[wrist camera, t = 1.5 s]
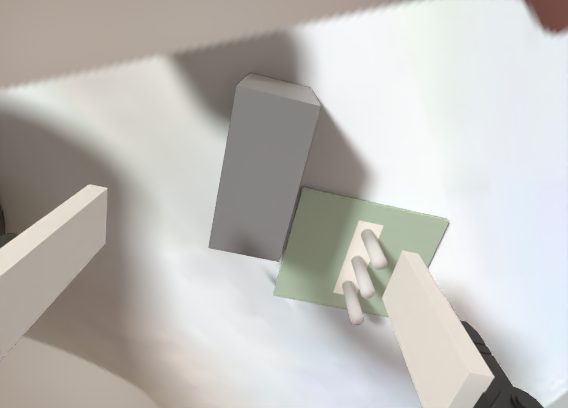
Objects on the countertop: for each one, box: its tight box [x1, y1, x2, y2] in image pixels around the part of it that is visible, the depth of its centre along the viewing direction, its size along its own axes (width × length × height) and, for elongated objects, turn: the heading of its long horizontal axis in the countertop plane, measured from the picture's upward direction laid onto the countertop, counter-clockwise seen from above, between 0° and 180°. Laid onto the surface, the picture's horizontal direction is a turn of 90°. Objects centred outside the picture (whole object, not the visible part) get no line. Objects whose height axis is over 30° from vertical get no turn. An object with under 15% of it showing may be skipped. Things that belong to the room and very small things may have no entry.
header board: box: [274, 187, 449, 325], centre depth 33 cm, size 14×12×6 cm
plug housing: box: [208, 73, 321, 262], centre depth 27 cm, size 5×11×9 cm, turn 167°
